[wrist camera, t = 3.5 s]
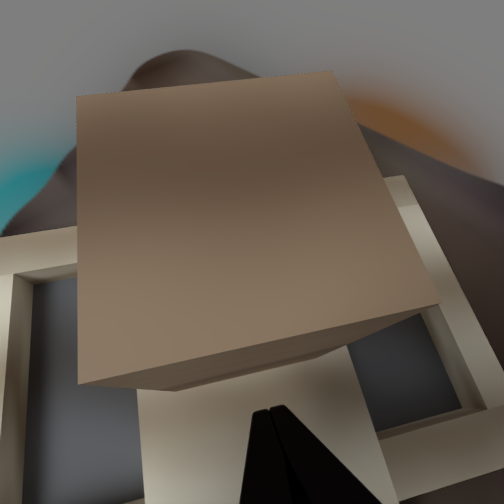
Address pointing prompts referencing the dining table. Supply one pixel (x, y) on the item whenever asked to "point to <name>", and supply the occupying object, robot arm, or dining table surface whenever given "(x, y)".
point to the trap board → (239, 397)
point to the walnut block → (232, 232)
